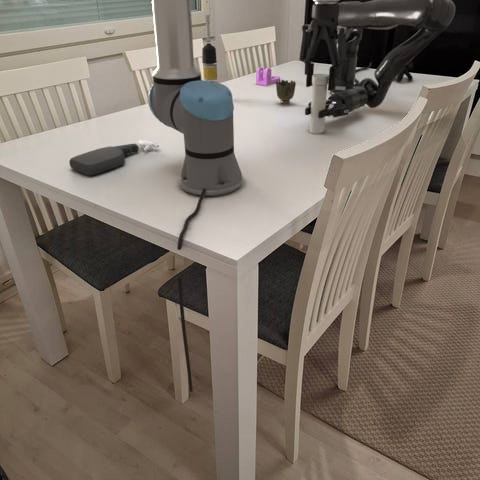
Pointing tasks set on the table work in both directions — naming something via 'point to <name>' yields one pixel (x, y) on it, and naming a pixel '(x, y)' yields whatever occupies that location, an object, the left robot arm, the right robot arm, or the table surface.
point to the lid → (320, 79)
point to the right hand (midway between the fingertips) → (312, 113)
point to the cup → (285, 91)
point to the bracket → (265, 77)
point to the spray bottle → (106, 157)
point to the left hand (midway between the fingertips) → (320, 87)
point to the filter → (209, 57)
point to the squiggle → (405, 72)
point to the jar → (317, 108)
